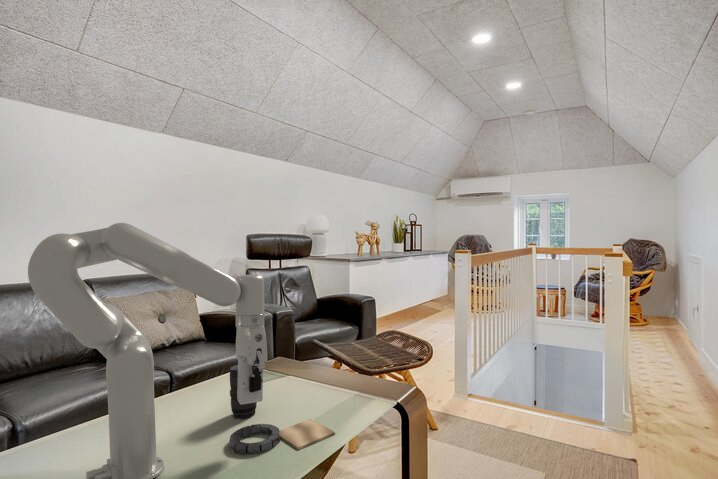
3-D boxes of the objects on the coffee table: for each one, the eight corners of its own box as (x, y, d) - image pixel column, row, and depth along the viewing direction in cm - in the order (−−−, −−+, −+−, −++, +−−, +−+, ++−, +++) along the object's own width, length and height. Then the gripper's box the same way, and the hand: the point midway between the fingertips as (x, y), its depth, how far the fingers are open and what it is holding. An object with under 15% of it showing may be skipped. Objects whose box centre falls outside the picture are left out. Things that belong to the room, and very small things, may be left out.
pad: (298, 449, 105) (298, 447, 105) (274, 434, 114) (274, 432, 114) (335, 434, 113) (335, 431, 113) (310, 420, 122) (310, 418, 122)
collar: (243, 460, 101) (243, 452, 101) (222, 442, 111) (221, 434, 111) (288, 441, 110) (288, 434, 110) (265, 426, 119) (265, 419, 119)
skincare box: (240, 405, 106) (240, 358, 107) (236, 399, 110) (236, 355, 110) (263, 401, 109) (263, 355, 109) (259, 395, 113) (259, 352, 113)
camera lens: (250, 420, 124) (248, 371, 124) (226, 419, 125) (224, 370, 125) (262, 409, 132) (260, 363, 132) (239, 408, 133) (237, 362, 133)
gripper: (278, 323, 106) (278, 393, 106) (248, 315, 119) (248, 377, 119) (251, 326, 101) (251, 400, 101) (223, 318, 114) (223, 383, 114)
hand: (250, 387), depth 110 cm, fingers closed on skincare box, 5 cm apart
